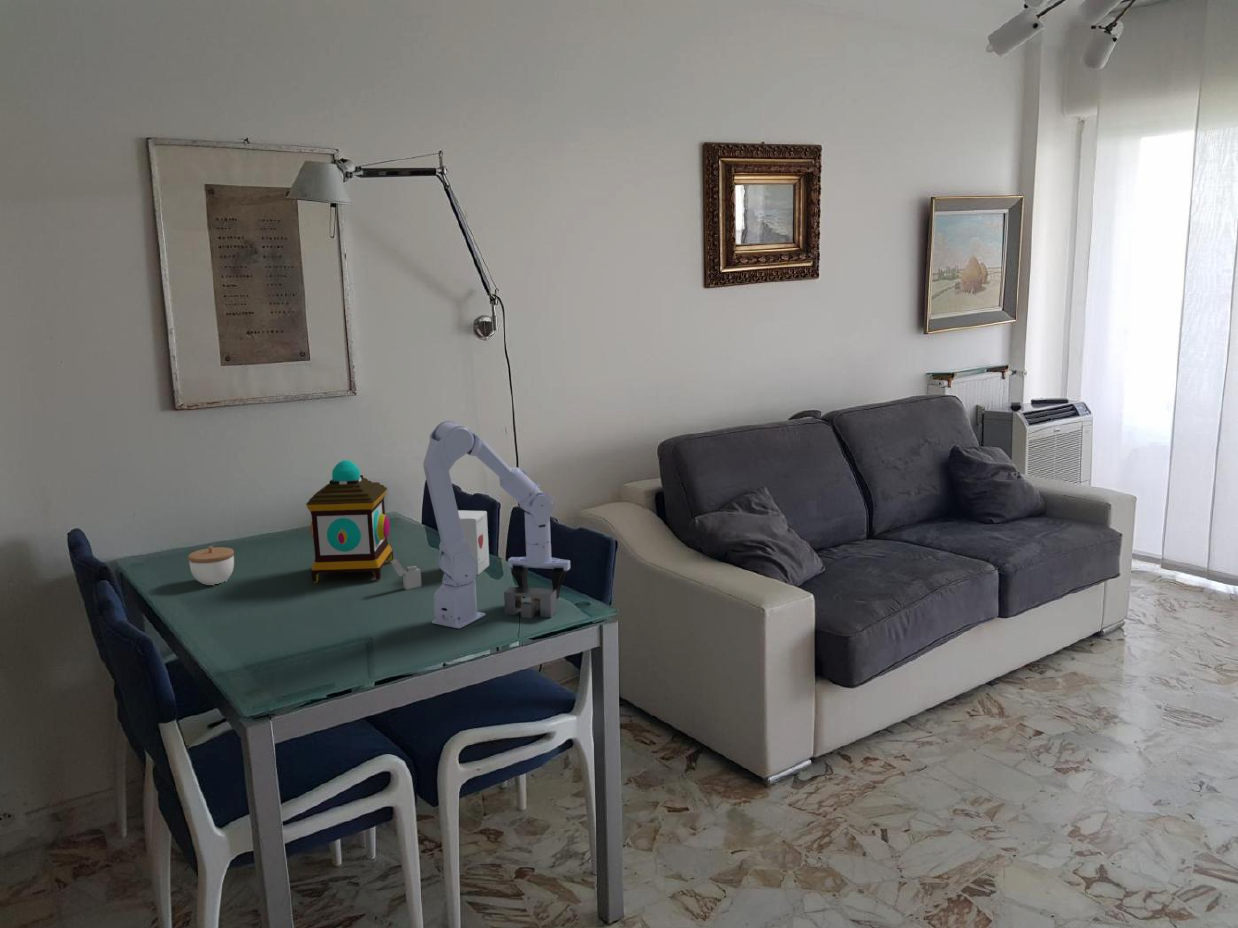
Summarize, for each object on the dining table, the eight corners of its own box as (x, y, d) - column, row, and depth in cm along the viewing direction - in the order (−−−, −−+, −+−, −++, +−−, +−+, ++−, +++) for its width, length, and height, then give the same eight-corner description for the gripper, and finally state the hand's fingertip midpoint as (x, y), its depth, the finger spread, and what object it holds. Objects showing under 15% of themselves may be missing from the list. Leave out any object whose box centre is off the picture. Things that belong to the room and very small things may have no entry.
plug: (534, 618, 212) (533, 605, 212) (519, 617, 213) (518, 604, 213) (549, 602, 222) (549, 590, 222) (535, 601, 223) (534, 589, 223)
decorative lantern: (304, 585, 239) (293, 468, 234) (325, 562, 259) (316, 454, 253) (384, 582, 240) (375, 466, 234) (399, 560, 259) (392, 451, 254)
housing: (551, 617, 212) (550, 595, 211) (505, 614, 215) (504, 591, 214) (557, 611, 216) (556, 589, 215) (511, 608, 219) (510, 586, 218)
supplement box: (478, 575, 244) (475, 518, 241) (445, 574, 246) (442, 518, 243) (490, 565, 253) (487, 510, 250) (458, 563, 254) (455, 509, 252)
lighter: (418, 584, 238) (416, 553, 236) (421, 586, 237) (419, 555, 235) (392, 590, 234) (390, 559, 232) (395, 592, 232) (393, 560, 231)
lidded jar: (198, 591, 237) (194, 555, 235) (186, 581, 245) (182, 546, 243) (242, 582, 243) (238, 546, 241) (228, 573, 251) (225, 538, 250)
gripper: (573, 538, 221) (575, 594, 223) (514, 535, 224) (517, 590, 227) (564, 546, 214) (566, 604, 217) (503, 543, 218) (506, 600, 220)
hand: (540, 597), depth 221 cm, fingers open, 7 cm apart
